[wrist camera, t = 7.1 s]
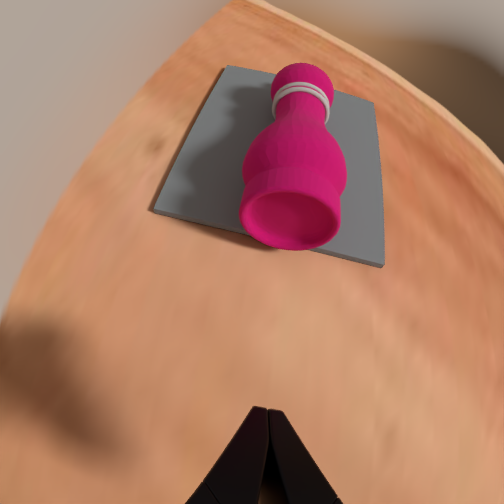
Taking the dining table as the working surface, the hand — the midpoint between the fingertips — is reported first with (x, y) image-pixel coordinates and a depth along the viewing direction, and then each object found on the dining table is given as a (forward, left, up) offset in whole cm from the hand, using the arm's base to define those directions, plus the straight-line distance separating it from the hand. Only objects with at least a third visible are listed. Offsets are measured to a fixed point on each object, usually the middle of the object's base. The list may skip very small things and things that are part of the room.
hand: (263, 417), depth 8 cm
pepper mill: (+10, +5, -7) cm, 13 cm away
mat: (+20, +12, -11) cm, 26 cm away
